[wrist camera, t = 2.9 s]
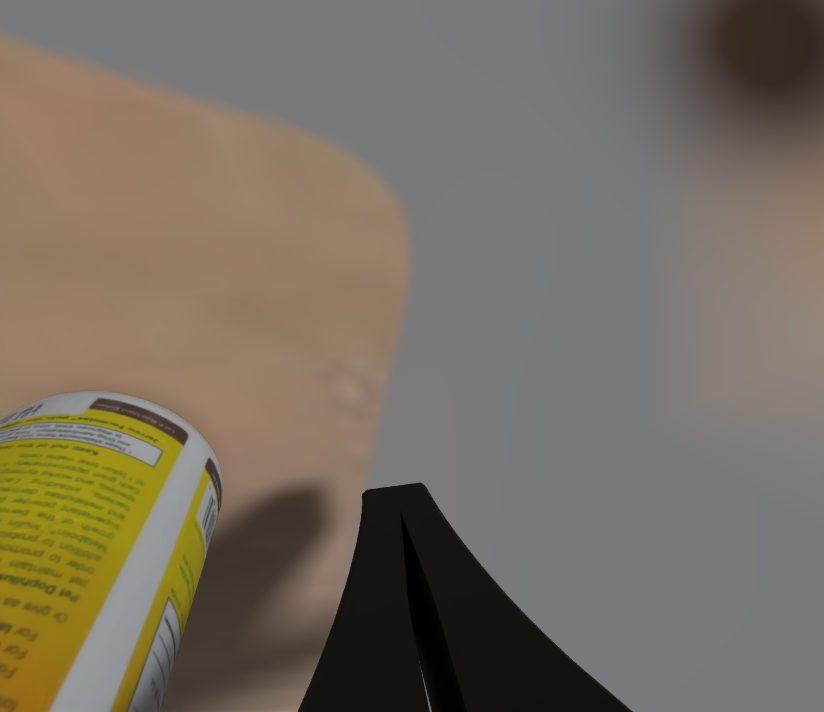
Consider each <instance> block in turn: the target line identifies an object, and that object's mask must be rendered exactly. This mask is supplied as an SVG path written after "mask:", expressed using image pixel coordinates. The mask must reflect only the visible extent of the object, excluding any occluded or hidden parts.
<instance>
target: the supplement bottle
mask: <svg viewBox="0 0 824 712" xmlns="http://www.w3.org/2000/svg"><path fill="white" fill-rule="evenodd" d="M222 495H223V482H222V474H221V470H220V467H219V464H218V461H217V459H216V456H215V454H214V452H213V451H212V449H211V447H210V446H209V444H208V443H207V442H206V440H205V439H204V438H203V437H202V435H201V434H200V433H199V432H198V431H197V430H196V429H195V428H194V427H192V426H191V425H190V424H189V423H188V422H186V421H185V420H184V419H182V418H181V417H179V416H178V415H176V414H175V413H173V412H171V411H170V410H168V409H166V408H163V407H161V406H159V405H157V404H155V403H152V402H150V401H147V400H144V399H141V398H137V397H134V396H130V395H126V394H120V393H114V392H103V391H81V392H71V393H64V394H59V395H55V396H51V397H47V398H44V399H41V400H38V401H35V402H32V403H30V404H28V405H25V406H23V407H21V408H20V409H18V410H16V411H14V412H12V413H11V414H9V415H8V416H7V417H5V418H4V419H2V420H1V421H0V712H159V711H160V708H161V705H162V702H163V698H164V695H165V692H166V688H167V685H168V682H169V679H170V675H171V672H172V669H173V665H174V662H175V659H176V656H177V653H178V650H179V646H180V642H181V639H182V637H183V633H184V630H185V627H186V623H187V619H188V616H189V612H190V609H191V605H192V602H193V599H194V595H195V592H196V589H197V585H198V582H199V579H200V575H201V572H202V569H203V566H204V562H205V558H206V555H207V552H208V548H209V545H210V541H211V537H212V534H213V531H214V528H215V524H216V521H217V518H218V514H219V511H220V507H221V503H222Z"/></svg>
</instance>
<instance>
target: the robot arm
mask: <svg viewBox="0 0 824 712" xmlns="http://www.w3.org/2000/svg"><path fill="white" fill-rule="evenodd" d="M420 666H421V667H420ZM421 670H422V672H421ZM422 674H423V677H422ZM423 678H424V682H425V686H426V690H427V694H428V698H429V702H430V706H431V710H432V712H633V711H631V710H630V709H629V708H628V707H627V706H625V705H624V704H623V703H622V702H621V701H620V700H618V699H617V698H616V697H615V696H614V695H612V694H611V693H610V692H609V691H608V690H607V689H605V688H604V687H603V686H602V685H601V684H600V683H598V682H597V681H596V680H595V679H594V678H593V677H591V676H590V675H589V674H588V673H587V672H585V671H584V670H583V669H582V668H581V667H580V666H579V665H577V664H576V663H575V662H574V661H573V660H572V659H570V657H569V656H568V655H566V654H565V653H564V652H563V651H562V650H561V649H560V648H559V647H558V646H557V645H556V644H555V643H554V642H553V641H552V640H551V639H549V638H548V637H547V636H546V635H545V634H544V633H543V632H542V631H541V630H540V629H539V628H538V627H537V626H536V625H535V624H534V623H533V622H532V621H531V620H530V619H529V618H528V617H527V616H526V615H525V614H524V613H523V612H522V611H521V609H519V607H518V606H517V605H516V604H515V603H514V602H513V601H512V600H511V599H510V598H509V597H508V596H507V595H506V594H505V592H504V591H503V590H502V589H501V588H500V587H499V586H498V584H497V583H496V582H495V581H494V580H493V579H492V577H491V576H490V575H489V574H488V573H487V572H486V570H485V569H484V568H483V567H482V566H481V564H480V563H479V562H478V561H477V560H476V558H475V557H474V556H473V554H472V553H471V552H470V550H469V549H468V548H467V547H466V545H465V544H464V543H463V542H462V540H461V539H460V538H459V536H458V535H457V534H456V532H455V531H454V530H453V528H452V527H451V525H450V524H449V522H448V521H447V520H446V518H445V517H444V515H443V514H442V513H441V511H440V509H439V508H438V506H437V505H436V503H435V501H434V500H433V498H432V496H431V495H430V493H429V491H428V490H427V488H426V486H425V485H423V484H422V483H415V484H406V485H399V486H391V487H384V488H377V489H369V490H366V491H365V492H364V493H363V494H362V514H361V521H360V527H359V533H358V538H357V543H356V548H355V551H354V555H353V559H352V563H351V567H350V571H349V575H348V579H347V582H346V585H345V588H344V591H343V595H342V598H341V601H340V604H339V607H338V610H337V614H336V617H335V620H334V622H333V625H332V628H331V631H330V634H329V636H328V639H327V642H326V645H325V647H324V650H323V652H322V655H321V657H320V660H319V663H318V665H317V668H316V670H315V673H314V675H313V678H312V680H311V682H310V685H309V687H308V689H307V691H306V694H305V696H304V698H303V701H302V703H301V705H300V708H299V710H298V712H430V711H429V706H428V701H427V696H426V691H425V687H424V682H423Z"/></svg>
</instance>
